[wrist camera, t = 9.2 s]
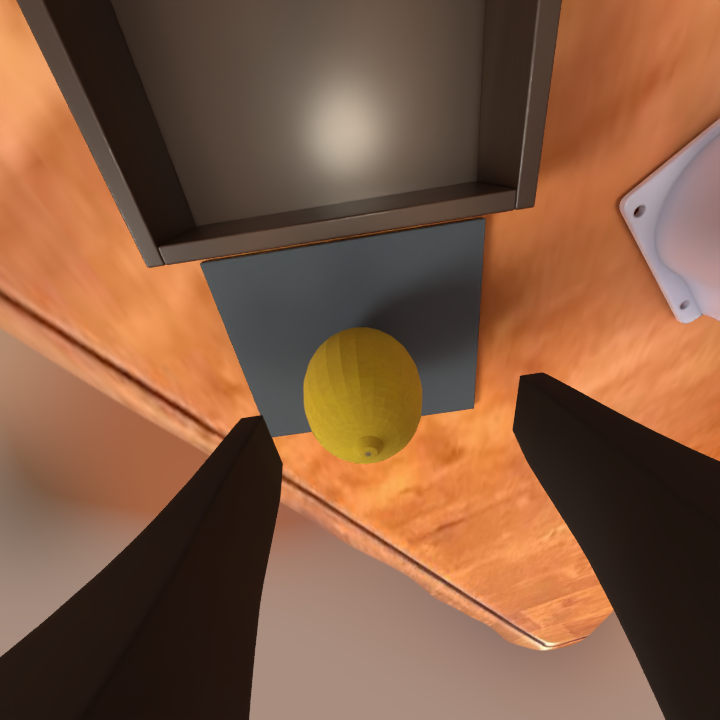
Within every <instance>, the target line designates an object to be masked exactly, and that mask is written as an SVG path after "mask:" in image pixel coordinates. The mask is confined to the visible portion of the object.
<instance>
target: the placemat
mask: <svg viewBox="0 0 720 720" xmlns="http://www.w3.org/2000/svg"><path fill="white" fill-rule="evenodd" d="M485 222H486V219H485V218H476V219H469V220H463V221H457V222H450V223H444V224H438V225H431V226H425V227H419V228H412V229H406V230H400V231H393V232H387V233H381V234H374V235H368V236H362V237H356V238H349V239H343V240H337V241H330V242H324V243H318V244H311V245H305V246H299V247H292V248H286V249H280V250H273V251H267V252H261V253H254V254H248V255H242V256H235V257H229V258H223V259H216V260H210V261H204V262H202V263H200V265H201V268H202V270H203V273H204V275H205V278H206V280H207V283H208V285H209V288H210V290H211V293H212V295H213V298H214V300H215V303H216V305H217V308H218V310H219V313H220V315H221V318H222V320H223V323H224V325H225V328H226V330H227V333H228V335H229V338H230V340H231V343H232V345H233V348H234V350H235V353H236V355H237V358H238V360H239V363H240V365H241V368H242V370H243V373H244V375H245V378H246V380H247V383H248V385H249V388H250V390H251V393H252V395H253V398H254V400H255V402H256V405H257V407H258V410H259V412H260V415H263V417H264V420H265V422H266V425H267V427H268V430H269V432H270V434H271V437H278V436H285V435H292V434H299V433H306V432H312V430H311V428H310V425H309V422H308V419H307V416H306V413H305V408H304V390H303V387H304V379H305V375H306V372H307V368H308V365H309V362H310V360H311V358H312V357H313V355H314V354H315V352H316V351H317V349H318V348H319V347H320V345H322V344H323V343H324V342H325V341H326V340H327V339H328V338H329V337H331V336H333V335H334V334H336V333H338V332H340V331H342V330H346V329H350V328H355V327H368V328H372V329H377V330H380V331H382V332H384V333H386V334H388V335H390V336H392V337H393V338H395V339H396V340H397V341H398V342H399V343H400V344H401V345H403V346H404V347H405V349H406V350H407V352H408V353H409V355H410V356H411V358H412V359H413V361H414V363H415V365H416V367H417V370H418V374H419V378H420V381H421V386H422V411H421V416H424V415H431V414H438V413H445V412H452V411H459V410H466V409H473V408H474V398H475V382H476V366H477V350H478V334H479V318H480V302H481V286H482V270H483V254H484V238H485Z"/></svg>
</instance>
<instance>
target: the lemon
mask: <svg viewBox="0 0 720 720" xmlns="http://www.w3.org/2000/svg"><path fill="white" fill-rule="evenodd" d="M303 390H304V408H305V413H306V416H307V419H308V422H309V425H310V428H311V430H312V432H313V434H314V436H315V437H316V439H317V440H318V441H319V443H320V444H321V445H322V446H323V447H324V448H325V449H326V450H327V451H329V452H330V453H331V454H333V455H334V456H336V457H338V458H340V459H342V460H345V461H348V462H353V463H358V464H369V463H376V462H380V461H383V460H386V459H388V458H390V457H391V456H393V455H395V454H397V453H398V452H399V451H400V450H402V449H403V448H404V447H405V446H406V445H407V444H408V442H409V441H410V440H411V438H412V437H413V435H414V434H415V432H416V429H417V427H418V424H419V421H420V418H421V411H422V386H421V381H420V378H419V374H418V370H417V367H416V365H415V363H414V361H413V359H412V358H411V356H410V355H409V353H408V352H407V350H406V349H405V347H404V346H403V345H401V344H400V343H399V342H398V341H397V340H396V339H395V338H393V337H392V336H390V335H388V334H386V333H384V332H382V331H380V330H377V329H372V328H368V327H355V328H350V329H346V330H342V331H340V332H338V333H336V334H334V335H333V336H331V337H329V338H328V339H327V340H326V341H325V342H324V343H323V344H322V345H320V347H319V348H318V349H317V351H316V352H315V354H314V355H313V357H312V358H311V360H310V362H309V365H308V368H307V372H306V375H305V379H304V387H303Z"/></svg>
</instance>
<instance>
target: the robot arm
mask: <svg viewBox="0 0 720 720" xmlns="http://www.w3.org/2000/svg"><path fill="white" fill-rule="evenodd" d="M637 207H639V210H638V212H637V213H636V214H635V215H634V211H635V209H636V208H637ZM619 208H620V212H621V214H622V216H623V218H624V219H625V221H626V223H627V225H628V227H629V229H630V231H631V233H632V235H633V237H634V239H635V241H636V243H637V245H638V246H639V248H640V250H641V252H642V254H643V256H644V258H645V260H646V262H647V264H648V266H649V268H650V270H651V272H652V273H653V275H654V277H655V279H656V281H657V283H658V285H659V287H660V289H661V291H662V293H663V295H664V297H665V298H666V300H667V302H668V304H669V306H670V308H671V310H672V312H673V314H674V316H675V318H676V320H678V321H679V322H681V323H685V324H686V323H690V322H692V321H694V320H695V319H697V318H698V317H700V316H701V315H703V314H704V315H707V316H709V317H711V318H713V319H716V320H718V321H720V118H719V119H718V120H717V121H715V122H714V123H713V124H712V125H710V126H709V127H708V128H707V129H706V130H704V131H703V132H702V133H701V134H700V135H698V136H697V137H696V138H695V139H693V140H692V141H691V142H690V143H689V144H687V145H686V146H685V147H684V148H682V149H681V150H680V151H679V152H678V153H676V154H675V155H674V156H673V157H671V158H670V159H669V160H668V161H667V162H665V163H664V164H663V165H662V166H660V167H659V168H658V169H657V170H656V171H654V172H653V173H652V174H651V175H649V176H648V177H647V178H646V179H645V180H643V181H642V182H641V183H640V184H638V185H637V186H636V187H635V188H634V189H632V190H631V191H630V192H629V193H627V194H626V195H625V196H624V197H623V198H622V200H621V202H620V206H619ZM513 432H514V434H515V436H516V439H517V441H518V443H519V445H520V447H521V450H522V452H523V454H524V456H525V458H526V460H527V462H528V464H529V465H530V467H531V469H532V470H533V472H534V474H535V475H536V477H537V478H538V480H539V482H540V483H541V485H542V486H543V488H544V490H545V491H546V493H547V494H548V496H549V497H550V499H551V501H552V502H553V504H554V505H555V507H556V508H557V510H558V512H559V513H560V515H561V516H562V518H563V520H564V521H565V523H566V524H567V526H568V527H569V529H570V531H571V532H572V534H573V535H574V537H575V538H576V540H577V542H578V543H579V545H580V547H581V548H582V550H583V552H584V554H585V555H586V557H587V559H588V560H589V562H590V564H591V566H592V568H593V570H594V572H595V574H596V576H597V578H598V580H599V582H600V584H601V586H602V588H603V589H604V591H605V593H606V595H607V597H608V599H609V601H610V603H611V605H612V607H613V609H614V611H615V613H616V615H617V617H618V619H619V621H620V623H621V625H622V627H623V629H624V631H625V634H626V635H627V638H628V640H629V642H630V644H631V646H632V648H633V650H634V652H635V654H636V656H637V658H638V661H639V663H640V665H641V667H642V669H643V671H644V674H645V676H646V678H647V680H648V682H649V684H650V686H651V689H652V691H653V693H654V695H655V697H656V700H657V702H658V704H659V706H660V708H661V711H662V712H663V715H664V717H665V720H720V461H718V460H715V459H713V458H711V457H708V456H706V455H704V454H702V453H699V452H697V451H695V450H693V449H691V448H688V447H686V446H684V445H682V444H680V443H678V442H676V441H674V440H672V439H670V438H668V437H665V436H663V435H661V434H659V433H657V432H655V431H653V430H651V429H649V428H647V427H645V426H643V425H641V424H639V423H637V422H635V421H633V420H631V419H629V418H627V417H626V416H624V415H622V414H620V413H618V412H616V411H614V410H612V409H610V408H609V407H607V406H605V405H603V404H601V403H599V402H597V401H596V400H594V399H592V398H590V397H588V396H586V395H585V394H583V393H581V392H579V391H577V390H575V389H574V388H572V387H570V386H568V385H566V384H564V383H563V382H561V381H559V380H557V379H555V378H553V377H551V376H549V375H547V374H545V373H543V372H542V373H535V374H529V375H522V376H520V380H519V388H518V395H517V402H516V409H515V417H514V424H513ZM282 466H283V463H282V461H281V459H280V456H279V454H278V451H277V449H276V447H275V444H274V442H273V439H272V437H271V434H270V432H269V430H268V427H267V425H266V422H265V420H264V417H263V415H260V416H253V417H247V418H241V419H240V421H239V422H238V423H237V424H236V425H235V426H234V428H233V429H232V430H231V431H230V432H229V434H228V435H227V436H226V437H225V438H224V440H223V441H222V442H221V443H220V445H219V446H218V447H217V448H216V449H215V451H214V452H213V453H212V454H211V455H210V457H209V458H208V459H207V460H206V462H205V463H204V464H203V465H202V466H201V467H200V468H199V470H198V471H197V472H196V473H195V474H194V476H193V477H192V478H191V479H190V480H189V481H188V483H187V484H186V485H185V486H184V487H183V488H182V489H181V490H180V491H179V493H178V494H177V495H176V496H175V497H174V498H173V499H172V500H171V501H170V502H169V504H168V505H167V506H166V507H165V508H164V509H163V510H162V511H161V512H160V513H159V514H158V516H157V517H156V518H155V519H154V520H153V521H152V522H151V523H150V524H149V525H148V526H147V527H146V528H145V529H144V530H143V531H142V532H141V533H140V534H139V535H138V536H137V537H136V538H135V539H134V540H133V541H132V542H131V543H130V544H129V545H128V546H127V547H126V548H125V549H124V550H123V551H122V552H121V553H120V554H119V555H118V556H117V557H116V558H115V559H113V560H112V561H111V562H110V563H109V564H108V565H107V566H106V567H105V568H104V569H103V570H102V571H101V572H100V573H99V574H97V575H96V576H95V577H94V578H93V579H92V580H91V581H89V582H88V583H87V584H86V585H85V586H84V587H83V588H81V589H80V590H79V591H78V592H77V593H76V594H75V595H74V596H72V597H71V598H70V599H69V600H68V601H67V602H66V603H64V604H63V605H62V606H61V607H60V608H59V609H58V610H56V611H55V612H54V613H53V614H52V615H51V616H50V617H48V619H46V620H45V621H44V622H43V623H41V624H40V625H39V626H38V627H37V628H35V629H34V630H33V631H32V632H30V633H29V634H28V635H27V636H26V637H24V638H23V639H22V640H21V641H20V642H18V643H17V644H16V645H15V646H13V647H12V648H11V649H10V650H9V651H7V652H6V653H5V654H4V655H2V656H1V657H0V720H249V712H250V700H251V688H252V677H253V665H254V656H255V646H256V636H257V627H258V618H259V609H260V601H261V595H262V589H263V583H264V578H265V573H266V568H267V563H268V558H269V553H270V548H271V543H272V538H273V533H274V528H275V523H276V518H277V512H278V507H279V502H280V494H281V483H282Z"/></svg>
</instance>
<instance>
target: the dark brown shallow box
mask: <svg viewBox="0 0 720 720" xmlns="http://www.w3.org/2000/svg"><path fill="white" fill-rule="evenodd" d="M17 2H18V4H19V6H20V8H21V11H22V13H23V15H24V17H25V19H26V21H27V23H28V25H29V27H30V29H31V31H32V33H33V35H34V37H35V39H36V41H37V43H38V45H39V47H40V49H41V51H42V53H43V55H44V57H45V60H46V62H47V64H48V66H49V68H50V70H51V72H52V74H53V76H54V78H55V80H56V82H57V84H58V86H59V88H60V90H61V92H62V94H63V96H64V98H65V100H66V102H67V104H68V106H69V109H70V111H71V113H72V115H73V117H74V119H75V121H76V123H77V125H78V127H79V129H80V131H81V133H82V135H83V137H84V139H85V141H86V143H87V145H88V147H89V149H90V151H91V153H92V155H93V158H94V160H95V162H96V164H97V166H98V168H99V170H100V172H101V174H102V176H103V178H104V180H105V182H106V184H107V186H108V188H109V190H110V192H111V194H112V196H113V198H114V200H115V202H116V204H117V207H118V209H119V211H120V213H121V215H122V217H123V219H124V221H125V223H126V225H127V227H128V229H129V231H130V233H131V235H132V237H133V239H134V241H135V243H136V245H137V247H138V249H139V251H140V253H141V255H142V258H143V260H144V262H145V264H146V266H147V267H149V268H152V267H158V266H164V265H171V264H178V263H184V262H190V261H197V260H203V259H209V258H215V257H222V256H228V255H234V254H241V253H247V252H253V251H260V250H266V249H272V248H279V247H285V246H291V245H298V244H304V243H310V242H317V241H323V240H329V239H336V238H342V237H348V236H355V235H361V234H367V233H374V232H380V231H386V230H392V229H399V228H405V227H411V226H418V225H424V224H430V223H437V222H443V221H449V220H456V219H462V218H468V217H475V216H481V215H487V214H494V213H500V212H506V211H512V210H514V209H516V210H519V209H525V208H532V207H534V204H535V196H536V189H537V181H538V174H539V167H540V159H541V152H542V144H543V137H544V129H545V122H546V114H547V107H548V99H549V92H550V84H551V77H552V69H553V62H554V54H555V47H556V40H557V32H558V25H559V17H560V10H561V2H562V0H17Z"/></svg>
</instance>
